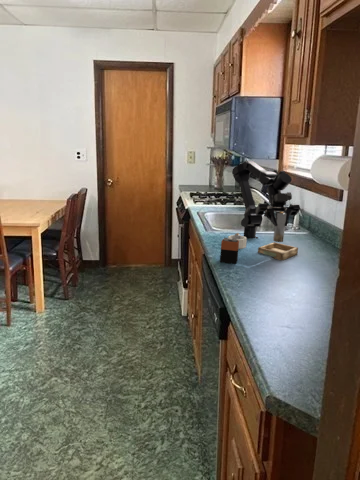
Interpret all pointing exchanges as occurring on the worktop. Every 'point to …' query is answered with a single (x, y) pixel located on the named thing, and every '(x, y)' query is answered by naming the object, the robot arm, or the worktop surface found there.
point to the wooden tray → (278, 250)
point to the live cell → (279, 226)
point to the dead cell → (237, 236)
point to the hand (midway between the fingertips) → (281, 225)
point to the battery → (229, 250)
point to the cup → (240, 241)
